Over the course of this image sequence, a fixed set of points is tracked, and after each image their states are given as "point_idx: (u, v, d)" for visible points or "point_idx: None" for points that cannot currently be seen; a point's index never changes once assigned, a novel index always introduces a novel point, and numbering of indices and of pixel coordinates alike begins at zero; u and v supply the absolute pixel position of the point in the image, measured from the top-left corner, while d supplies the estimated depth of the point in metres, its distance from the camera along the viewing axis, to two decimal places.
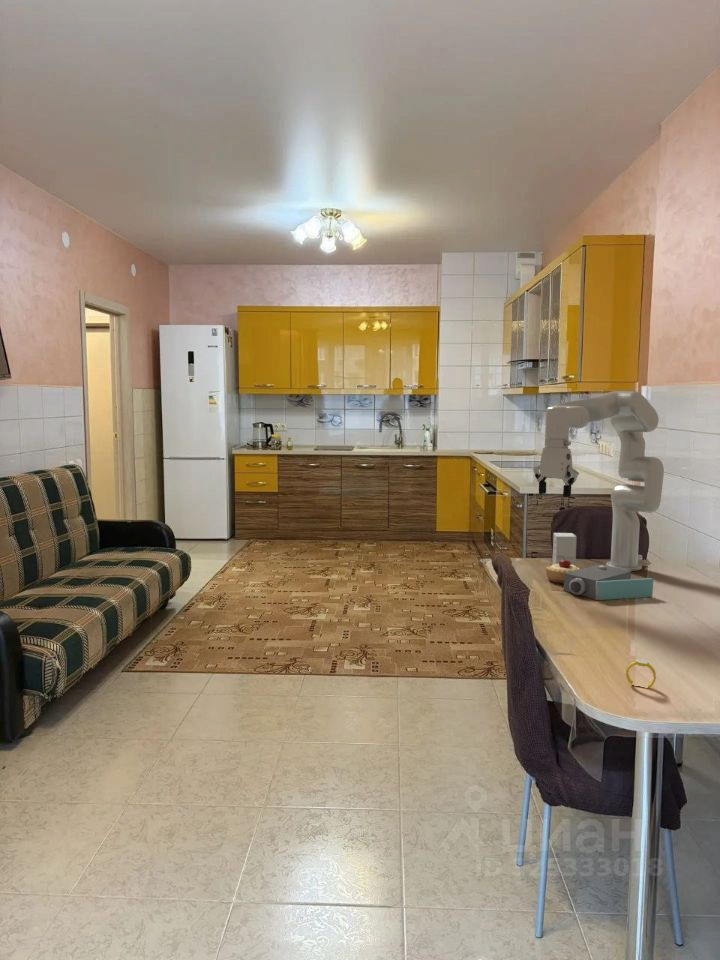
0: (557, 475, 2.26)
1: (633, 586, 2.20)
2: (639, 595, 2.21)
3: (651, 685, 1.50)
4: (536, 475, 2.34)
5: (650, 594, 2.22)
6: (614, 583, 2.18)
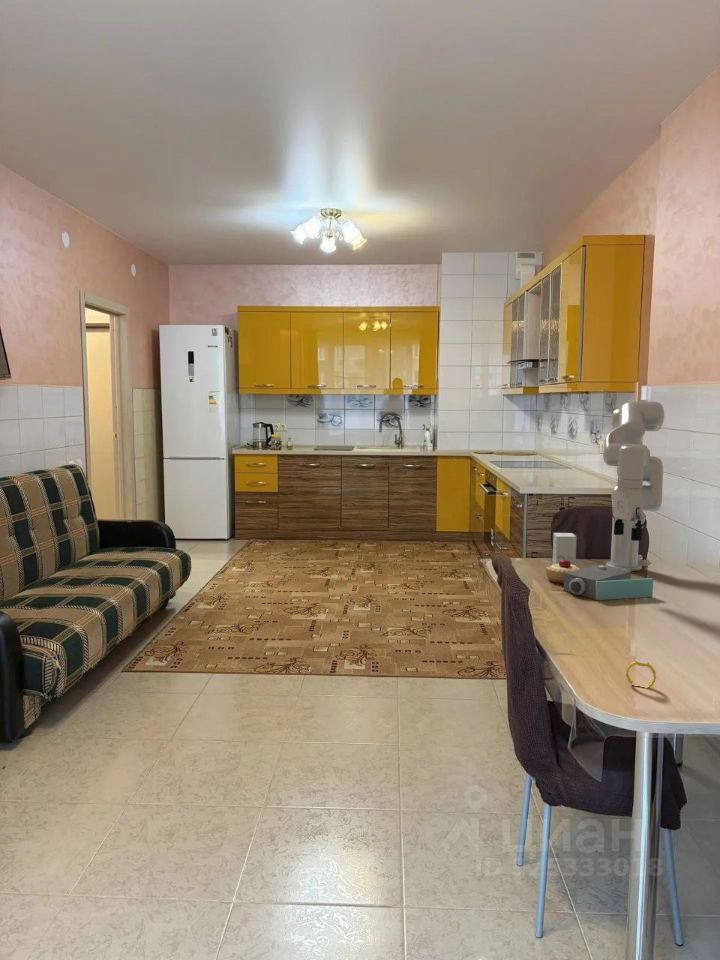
0: None
1: (633, 586, 2.20)
2: (639, 595, 2.21)
3: (651, 685, 1.50)
4: None
5: (650, 594, 2.22)
6: (614, 583, 2.18)
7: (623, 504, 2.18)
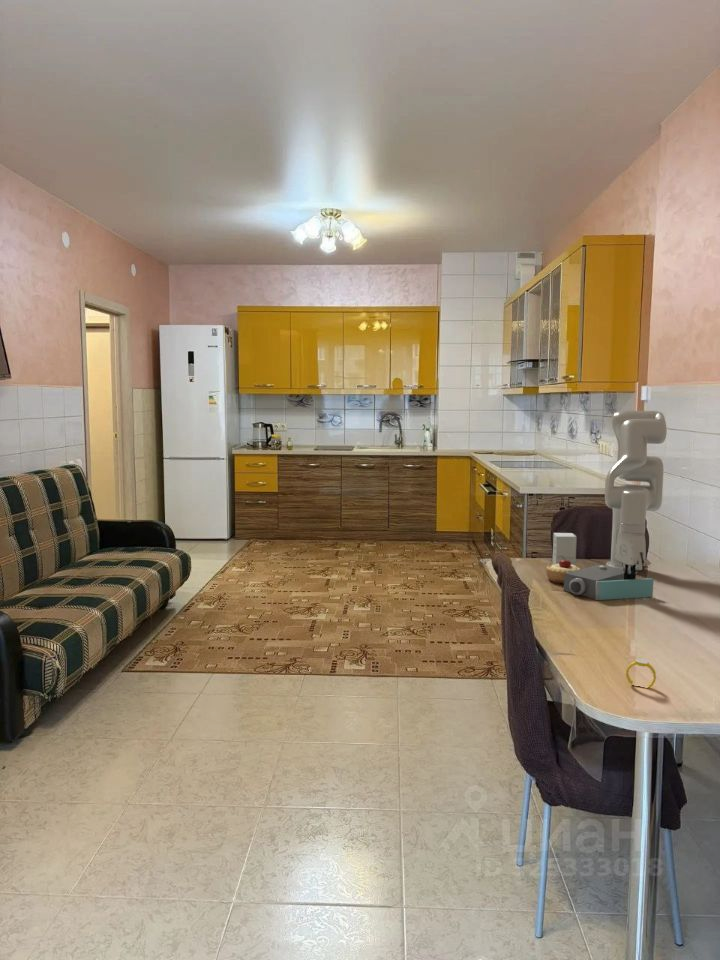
0: None
1: (633, 586, 2.20)
2: (639, 595, 2.21)
3: (651, 685, 1.50)
4: None
5: (650, 594, 2.22)
6: (614, 583, 2.18)
7: (626, 548, 2.20)
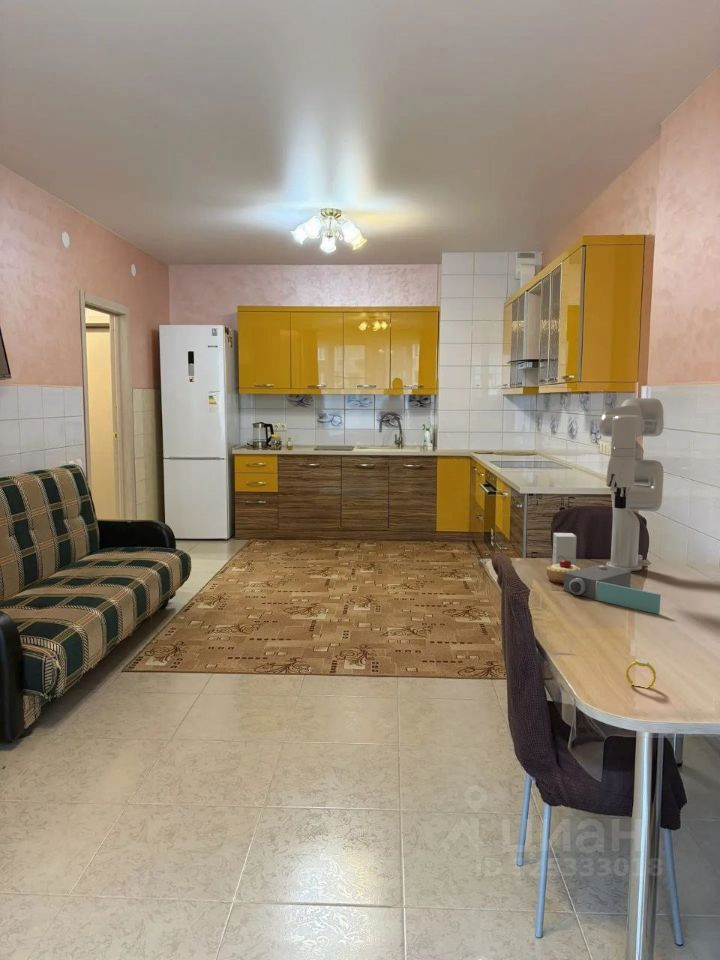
0: (631, 483, 2.29)
1: (635, 596, 2.08)
2: (642, 608, 2.07)
3: (651, 685, 1.50)
4: (619, 490, 2.27)
5: (655, 611, 2.04)
6: (614, 587, 2.13)
7: None
